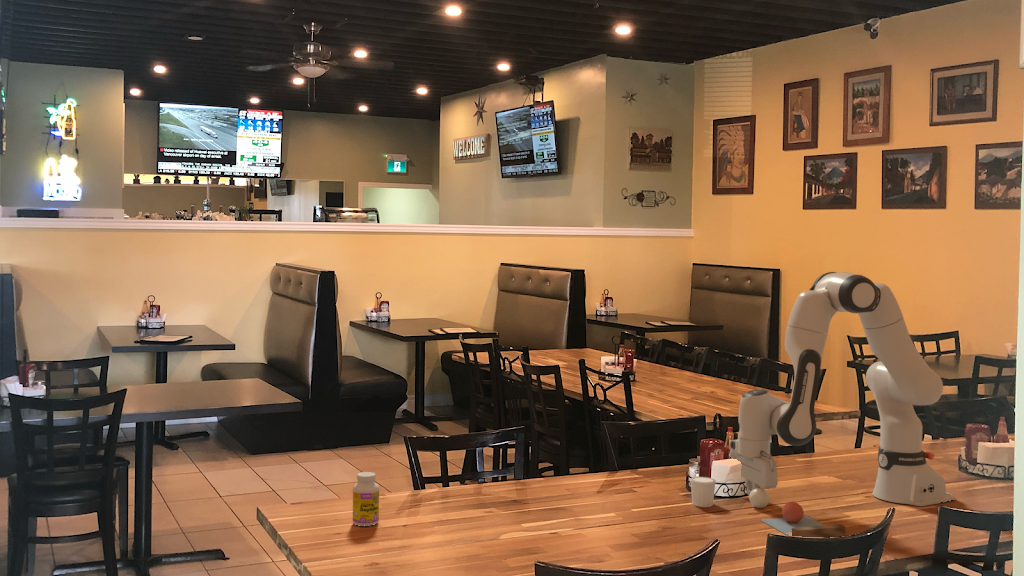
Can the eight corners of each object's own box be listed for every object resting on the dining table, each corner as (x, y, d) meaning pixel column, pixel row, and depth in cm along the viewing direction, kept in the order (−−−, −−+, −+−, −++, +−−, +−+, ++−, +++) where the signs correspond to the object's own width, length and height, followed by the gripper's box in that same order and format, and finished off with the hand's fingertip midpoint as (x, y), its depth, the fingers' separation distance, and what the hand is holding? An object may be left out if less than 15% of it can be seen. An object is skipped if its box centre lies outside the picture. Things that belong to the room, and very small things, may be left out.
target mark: (806, 516, 244) (806, 515, 244) (838, 533, 230) (838, 532, 230) (760, 520, 240) (760, 519, 240) (790, 537, 226) (790, 536, 226)
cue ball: (769, 485, 250) (774, 505, 249) (762, 485, 255) (767, 504, 254) (750, 490, 249) (756, 510, 248) (744, 490, 254) (749, 509, 253)
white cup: (715, 508, 250) (715, 483, 250) (689, 506, 251) (690, 481, 251) (714, 501, 257) (715, 477, 256) (690, 499, 258) (690, 475, 258)
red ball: (808, 504, 236) (807, 525, 237) (795, 498, 241) (794, 518, 242) (790, 506, 235) (789, 526, 235) (778, 500, 240) (777, 519, 240)
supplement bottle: (357, 529, 229) (357, 478, 228) (349, 521, 235) (349, 472, 234) (382, 525, 232) (382, 475, 231) (374, 518, 238) (374, 469, 237)
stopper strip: (840, 533, 230) (840, 524, 230) (845, 536, 228) (845, 526, 228) (791, 538, 226) (791, 528, 226) (795, 540, 224) (796, 530, 224)
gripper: (784, 455, 247) (782, 505, 248) (745, 439, 267) (744, 485, 268) (763, 456, 246) (762, 507, 246) (726, 440, 265) (724, 487, 266)
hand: (752, 496), depth 257 cm, fingers closed
